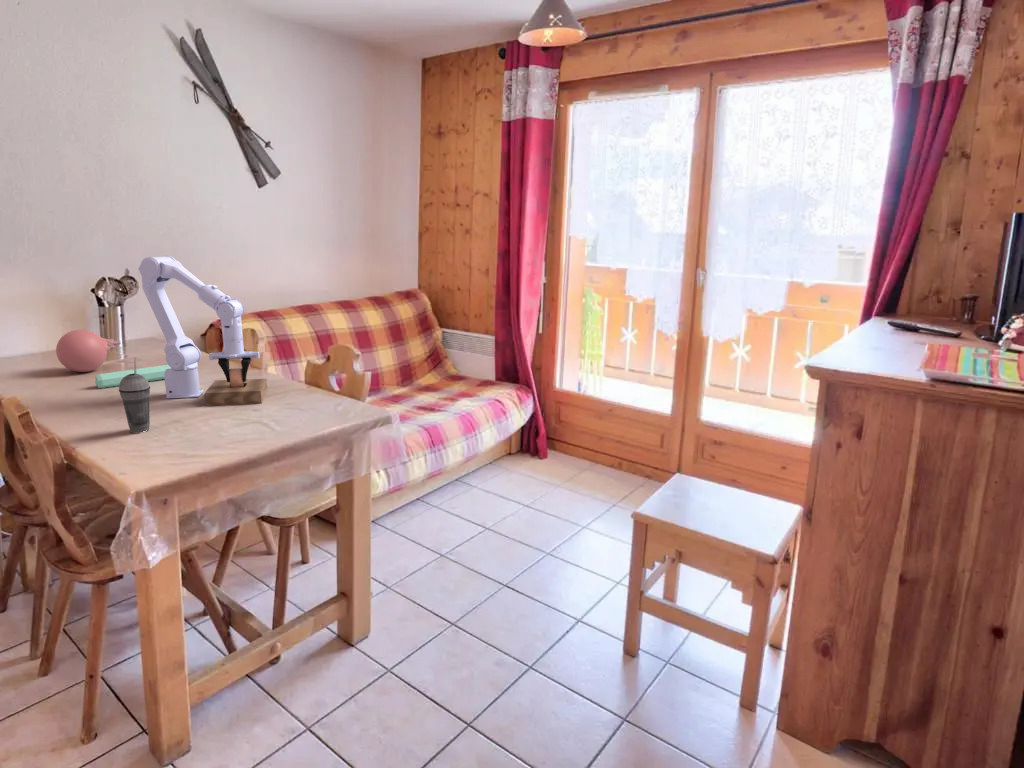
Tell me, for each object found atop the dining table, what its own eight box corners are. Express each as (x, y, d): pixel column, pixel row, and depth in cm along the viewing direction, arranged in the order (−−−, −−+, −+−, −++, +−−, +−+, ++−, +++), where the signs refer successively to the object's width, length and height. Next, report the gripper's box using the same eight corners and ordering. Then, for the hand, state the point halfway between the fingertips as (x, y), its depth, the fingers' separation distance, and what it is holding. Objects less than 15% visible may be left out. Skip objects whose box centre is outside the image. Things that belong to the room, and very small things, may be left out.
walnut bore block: (205, 405, 195) (204, 393, 194) (216, 392, 210) (214, 380, 209) (261, 403, 199) (260, 390, 198) (267, 390, 214) (266, 378, 213)
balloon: (126, 371, 235) (121, 330, 231) (60, 378, 223) (53, 335, 220) (121, 363, 247) (116, 324, 243) (58, 370, 235) (51, 328, 231)
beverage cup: (132, 426, 175) (123, 354, 170) (160, 426, 175) (151, 354, 170) (118, 435, 168) (108, 360, 163) (147, 434, 168) (138, 360, 163)
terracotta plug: (229, 389, 201) (227, 371, 200) (231, 386, 205) (229, 368, 203) (243, 389, 202) (241, 370, 200) (245, 385, 206) (243, 367, 204)
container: (94, 371, 209) (176, 360, 226) (91, 375, 214) (172, 364, 230) (98, 389, 209) (180, 376, 226) (96, 392, 213) (176, 380, 230)
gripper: (205, 341, 194) (209, 385, 198) (256, 340, 198) (259, 383, 201) (209, 337, 201) (214, 379, 204) (259, 336, 204) (262, 378, 208)
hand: (236, 381), depth 203 cm, fingers closed on terracotta plug, 4 cm apart
